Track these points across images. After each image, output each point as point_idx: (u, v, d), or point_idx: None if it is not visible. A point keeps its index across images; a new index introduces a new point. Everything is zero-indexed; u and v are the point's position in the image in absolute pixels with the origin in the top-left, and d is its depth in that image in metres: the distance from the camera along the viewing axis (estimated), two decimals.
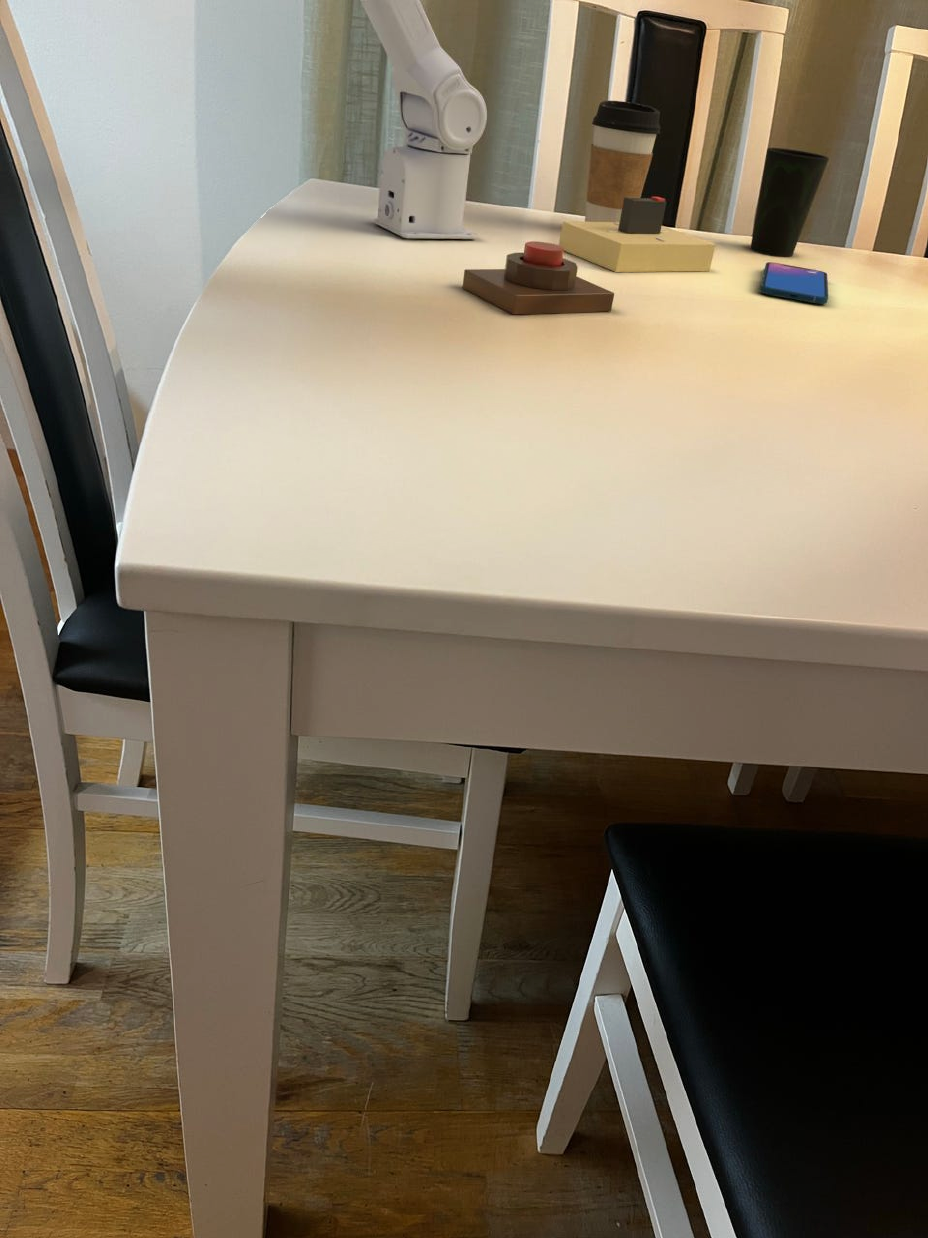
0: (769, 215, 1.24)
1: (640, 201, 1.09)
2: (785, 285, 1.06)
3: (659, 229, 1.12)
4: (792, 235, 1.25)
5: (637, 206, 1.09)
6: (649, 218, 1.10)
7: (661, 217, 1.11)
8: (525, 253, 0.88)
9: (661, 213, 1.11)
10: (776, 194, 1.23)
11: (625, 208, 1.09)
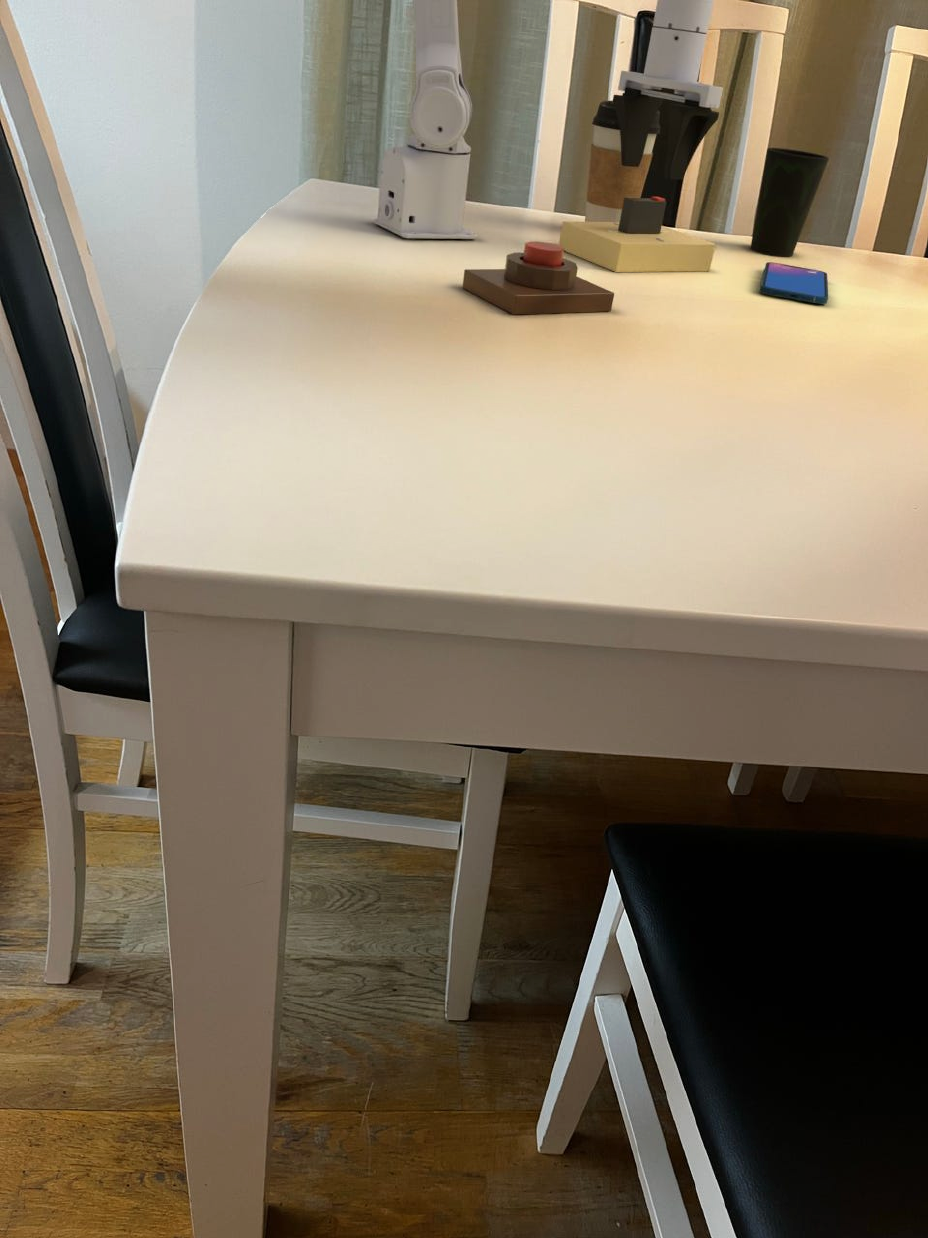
0: (769, 215, 1.24)
1: (640, 201, 1.09)
2: (785, 285, 1.06)
3: (659, 229, 1.12)
4: (792, 235, 1.25)
5: (637, 206, 1.09)
6: (649, 218, 1.10)
7: (661, 217, 1.11)
8: (525, 253, 0.88)
9: (661, 213, 1.11)
10: (776, 194, 1.23)
11: (625, 208, 1.09)
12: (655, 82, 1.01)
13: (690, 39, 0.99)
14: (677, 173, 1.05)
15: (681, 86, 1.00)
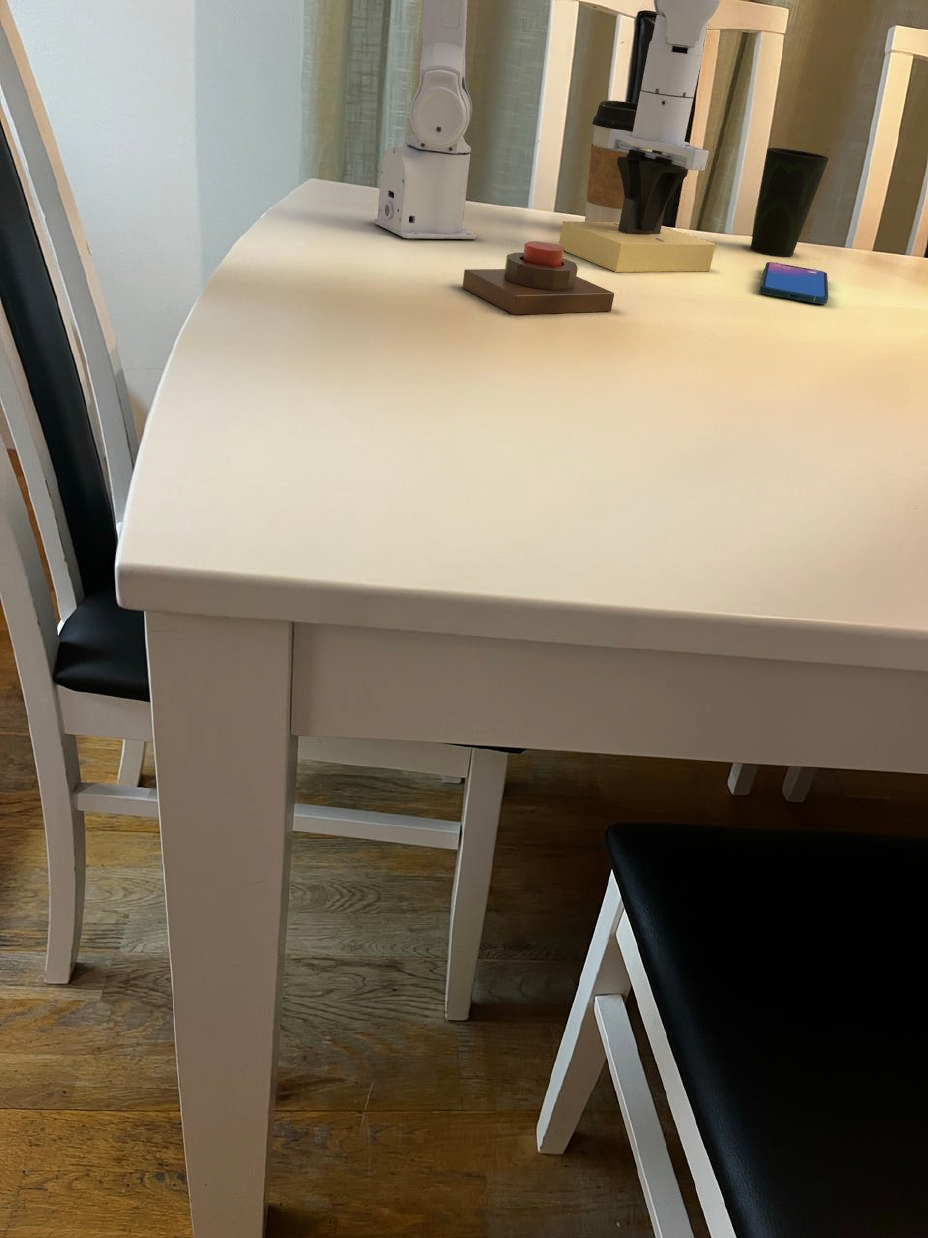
0: (769, 215, 1.24)
1: None
2: (785, 285, 1.06)
3: (659, 229, 1.12)
4: (792, 235, 1.25)
5: (637, 206, 1.09)
6: None
7: (661, 217, 1.11)
8: (525, 253, 0.88)
9: None
10: (776, 194, 1.23)
11: (625, 208, 1.09)
12: (643, 144, 1.05)
13: (677, 104, 1.02)
14: (649, 225, 1.10)
15: (668, 149, 1.03)
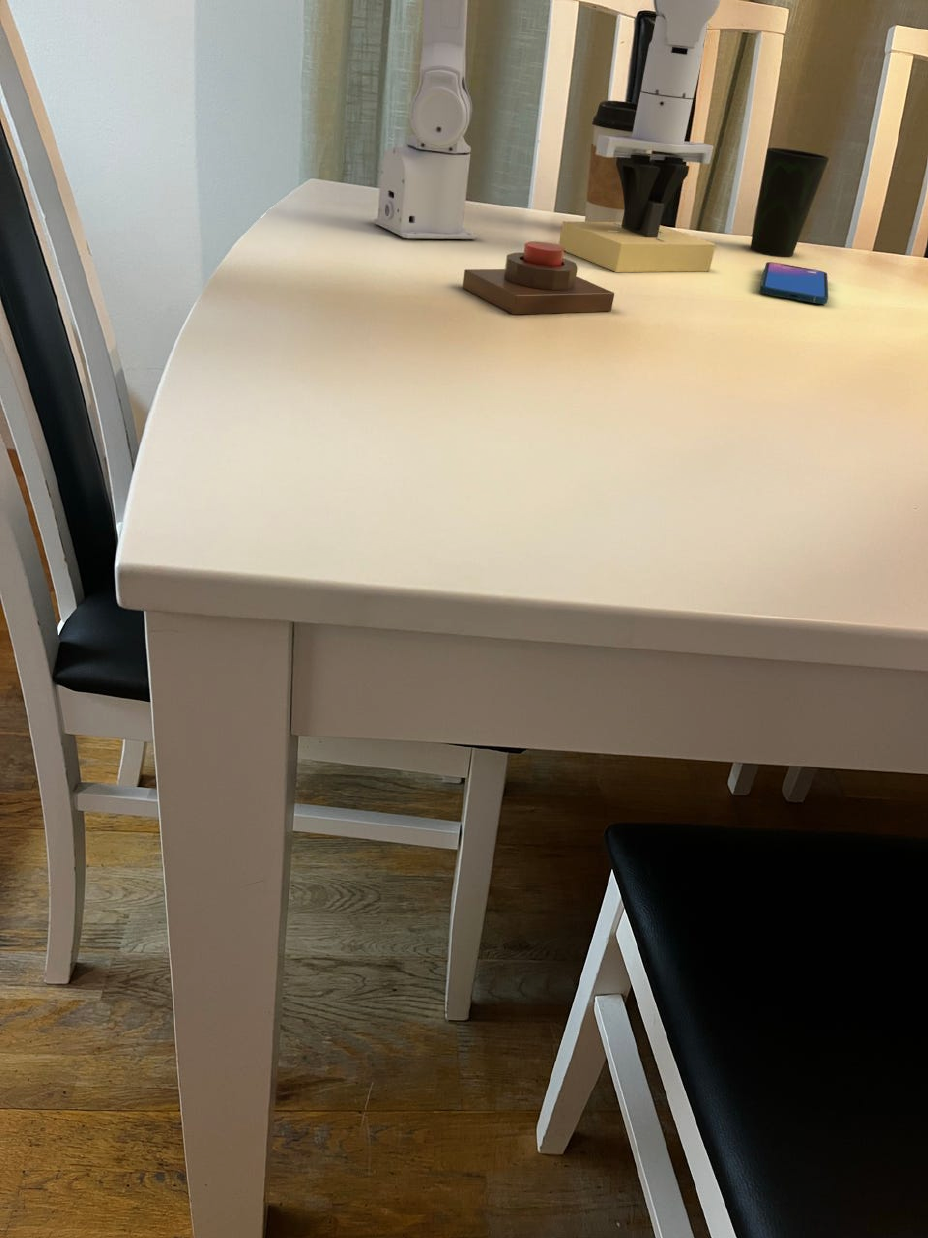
0: (769, 215, 1.24)
1: (658, 203, 1.09)
2: (785, 285, 1.06)
3: None
4: (792, 235, 1.25)
5: None
6: None
7: None
8: (525, 253, 0.88)
9: None
10: (776, 194, 1.23)
11: (655, 213, 1.08)
12: (680, 149, 1.05)
13: None
14: None
15: (695, 149, 1.07)
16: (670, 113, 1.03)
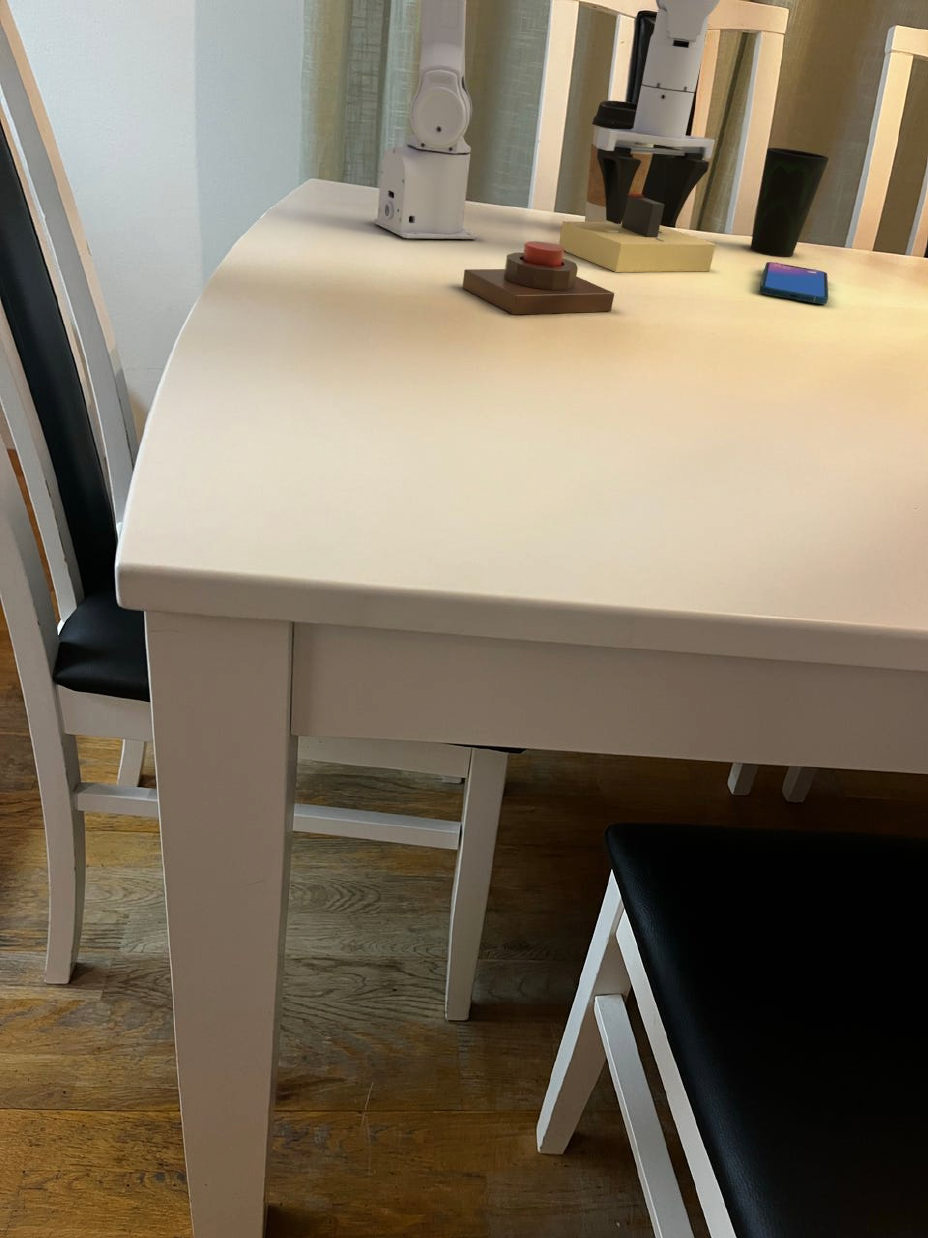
0: (769, 215, 1.24)
1: (658, 203, 1.09)
2: (785, 285, 1.06)
3: None
4: (792, 235, 1.25)
5: None
6: None
7: None
8: (525, 253, 0.88)
9: None
10: (776, 194, 1.23)
11: (655, 213, 1.08)
12: (681, 143, 1.05)
13: None
14: None
15: (696, 143, 1.07)
16: (671, 107, 1.02)
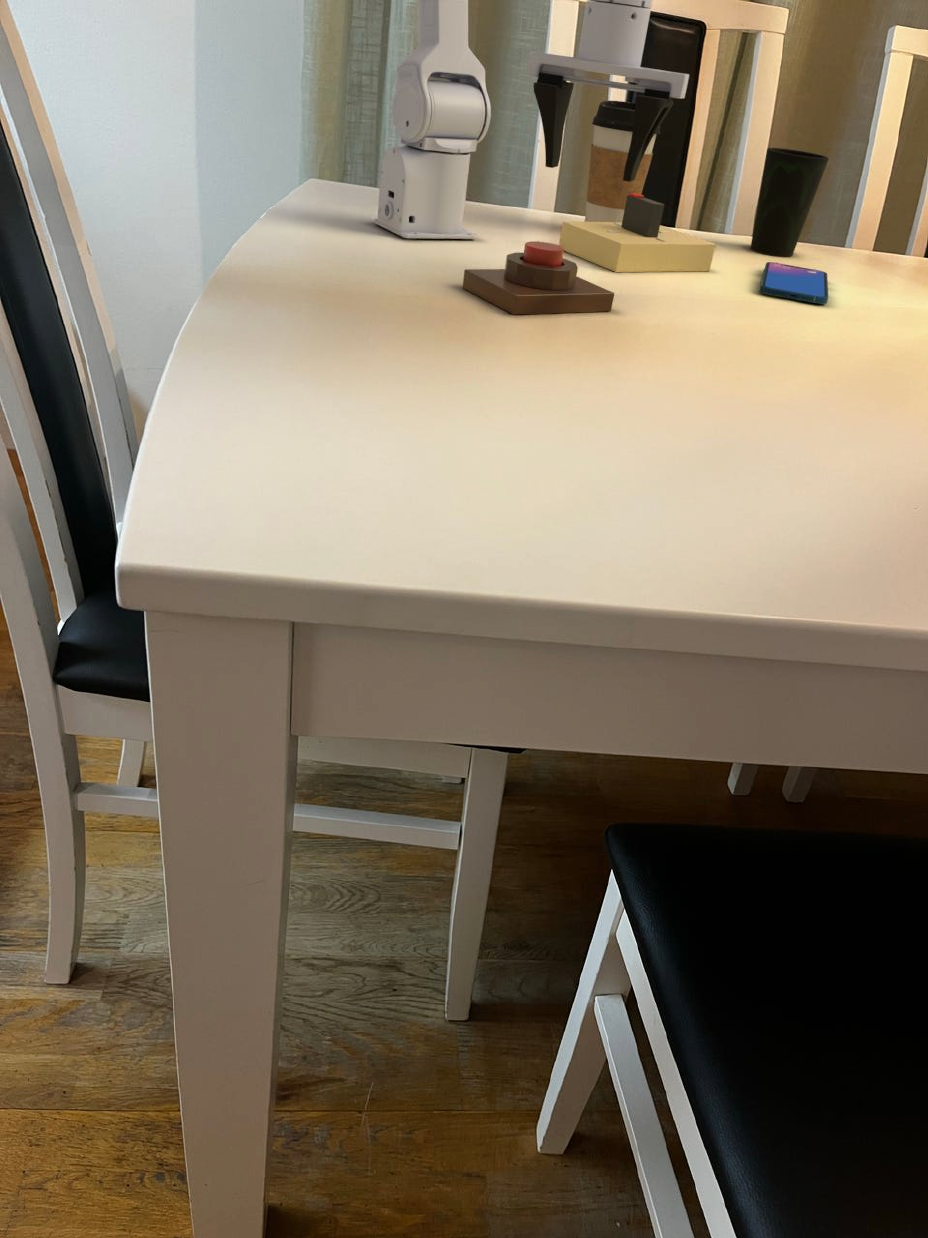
0: (769, 215, 1.24)
1: (658, 203, 1.09)
2: (785, 285, 1.06)
3: None
4: (792, 235, 1.25)
5: None
6: None
7: None
8: (525, 253, 0.88)
9: None
10: (776, 194, 1.23)
11: (655, 213, 1.08)
12: (611, 70, 0.85)
13: (645, 17, 0.84)
14: (634, 174, 0.91)
15: (646, 74, 0.85)
16: (595, 22, 0.84)
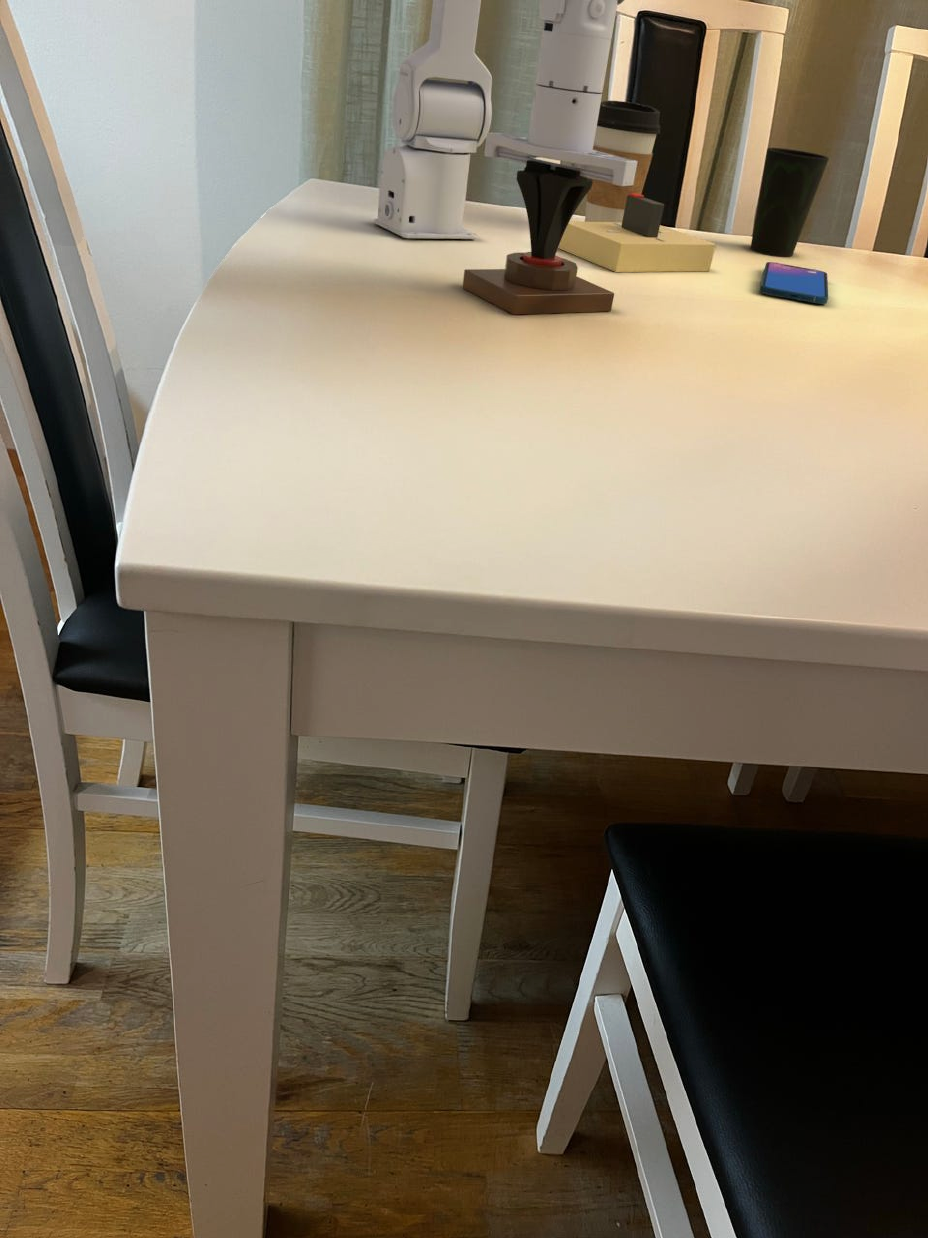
0: (769, 215, 1.24)
1: (658, 203, 1.09)
2: (785, 285, 1.06)
3: None
4: (792, 235, 1.25)
5: None
6: None
7: None
8: None
9: None
10: (776, 194, 1.23)
11: (655, 213, 1.08)
12: (551, 154, 0.82)
13: (590, 102, 0.80)
14: (550, 251, 0.88)
15: (587, 160, 0.81)
16: (538, 106, 0.81)
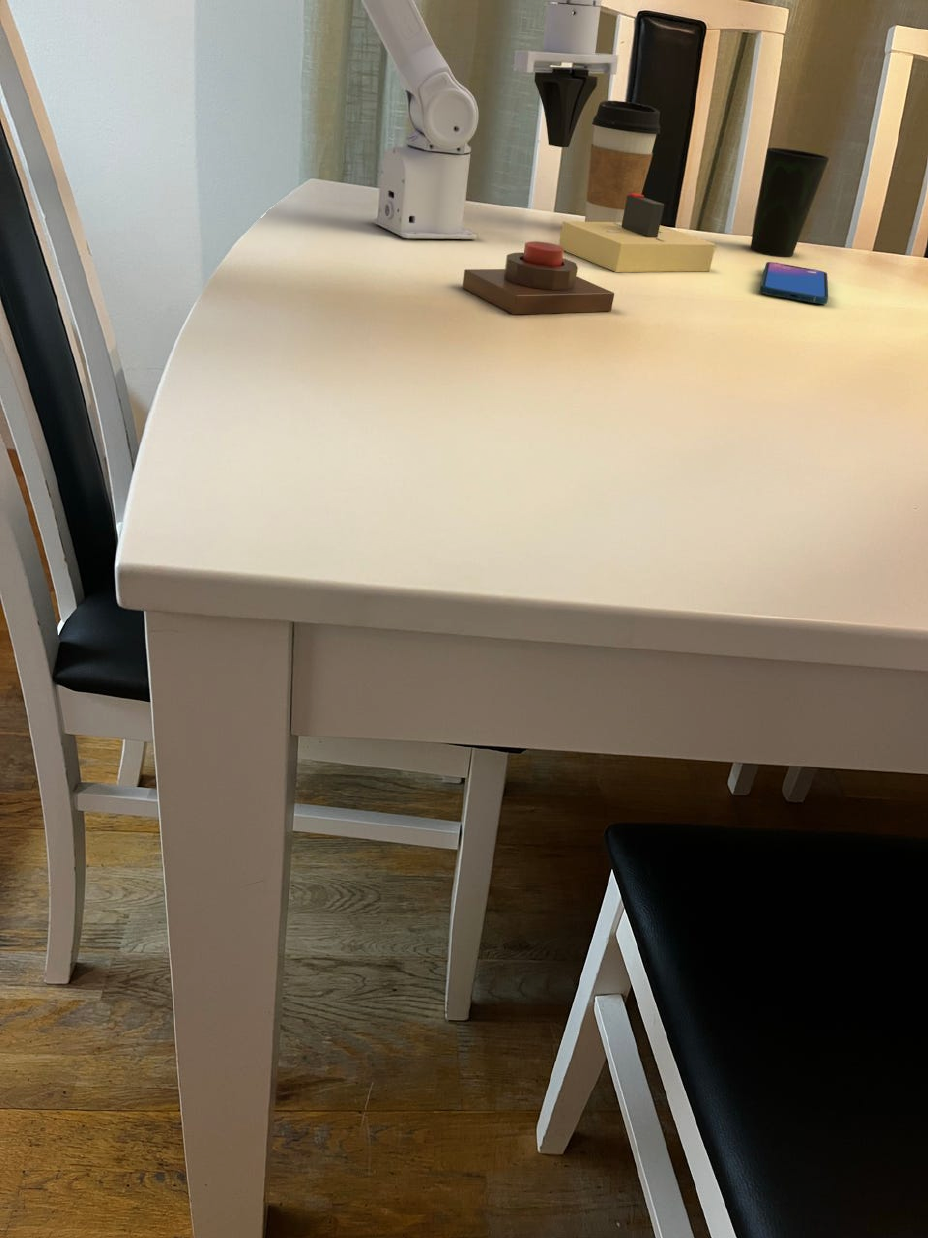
0: (769, 215, 1.24)
1: (658, 203, 1.09)
2: (785, 285, 1.06)
3: None
4: (792, 235, 1.25)
5: None
6: None
7: None
8: (525, 253, 0.88)
9: None
10: (776, 194, 1.23)
11: (655, 213, 1.08)
12: (594, 60, 1.05)
13: None
14: None
15: (604, 59, 1.07)
16: (583, 22, 1.02)
